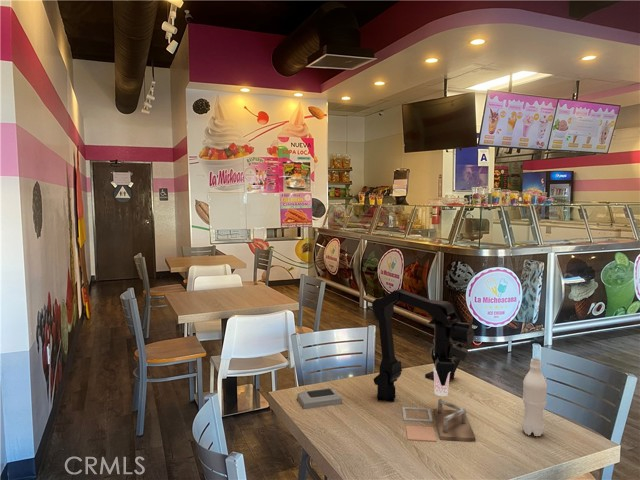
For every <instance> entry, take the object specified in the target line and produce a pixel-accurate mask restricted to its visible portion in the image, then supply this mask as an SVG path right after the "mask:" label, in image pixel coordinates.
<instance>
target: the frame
mask: <svg viewBox="0 0 640 480" xmlns="http://www.w3.org/2000/svg"><path fill="white" fill-rule="evenodd" d="M401 409H402V417H403V421H405V422H420V423H421V422H423V423H424V422H425V423H434V419H433V416H432V411H431V408H430V407H429V408H426V407H412V406H411V407H406V406H402V407H401ZM407 410H408V411H409V410H410V411H411V410H412V411H425V412H426V411H427V415H428V419H427V418H410V417H409V418H407V412H406V411H407Z"/></svg>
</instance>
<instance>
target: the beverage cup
mask: <svg viewBox="0 0 640 480" xmlns="http://www.w3.org/2000/svg"><path fill="white" fill-rule="evenodd" d="M432 371H433V372H434V381H433V383H434V384H433V386H434V387H433V388H434V390H433V391H434V395H436V396H438V397H446V396H448V395H449V386H450V385H449V384H450V381H449V377H450V372H449V374H448V377H447V380H446V383H445V386H442V385H441V383H440V380H439V377H438V374H437V371H436V368H435V366H433V368H432Z"/></svg>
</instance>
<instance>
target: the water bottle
mask: <svg viewBox="0 0 640 480" xmlns="http://www.w3.org/2000/svg"><path fill="white" fill-rule="evenodd" d="M529 368H530V369H529V371H528V372H527V374H526V375H525V377H524V379H523V381H522V384H523V387H522V388H523V389H522V401H523V404H524V416H523V418H522V420H521V428H522V431H523V432H524V433H525V435H527V434H528V435H527V436H529V435H530V436H531V434H532V433H533V436H534V437H535V436H540V437H541V436H542V435H543V434H544V433H545V431H546V425H545V421H544V416H543V414H544V409H545V407H546V406H547V387H548V385H547V380H546V378H545V377H544V374H543V372H542V359H540V358H537V357H536V358H533V357H532V358H531V359H530V364H529ZM541 434H542V435H541Z"/></svg>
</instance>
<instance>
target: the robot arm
mask: <svg viewBox="0 0 640 480" xmlns="http://www.w3.org/2000/svg"><path fill="white" fill-rule="evenodd" d="M398 303H402V304H405V305H408V306H410V307H413V308H416V309H419V310H421V311H424V312H426V314H427V315H428V316H430V318H432V319H431V320H430V321H428V324H429V325H433V326H434V334H433V335H434V337H433V340H432V341H433V345H432V346H431V347H430V357H431V359H432V362H433V365H434V367H435V368H436V371H437V374H438V377H439V380H440V383H441V385H442V386H445V383H446V380H447V377H448V374H449V372H451V371H455V363H454V361H453V360H454V359H453V357H454V358H455V359H457V358H459V359H461V360H460V361H463V362H465V361H466V359H467V356H468V355H469V352H468V350H467V349H466V348H465V347H463V344H466V345H471V344H472V343H473V341H474V338H475V332H474V329H473V326H472V323H470V322H461V319H460V317H459V316H458V314H457V313H456V311H455V307H454V306H453V304H452V303H451V302H449V301H444V300H439V299H437V300H436V299H429V298H426V297H424V296H421V295H418V294H415V293H413V292H410V291H407V290H405V289H403V288H398V289H395V290H393V291H392V292H390V293H388V294H386V295H385V296H382V297H378V298H375V299H374V300H373V301H372V303H371V306H372V312H373V315H374V317H375V318H376V320H377V323H378V331H379V339H380V340H379V341H380V348H381V349H380V350H381V351H380V352H381V361H380V363H379V368H378V369H379V372H378V375H376V376H375V377H374V378H373V383H374V385H376V386H377V389H376V390H377V393H376V400H377V402H393V403H394V402H395V399H396V385H395V382H398V379H399V378H400V377H401V375H402V372H403V369H402V361H401V360H397V357H396V355H395V345H394V344H395V343H394V336H393V335H394V334H393V327H392V319H393V315H394V312H395V311H394V310H395V305H397V304H398ZM453 341H454V342H456V343H455V344H454V343H453ZM462 343H463V344H462ZM455 372H456V371H455Z"/></svg>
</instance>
